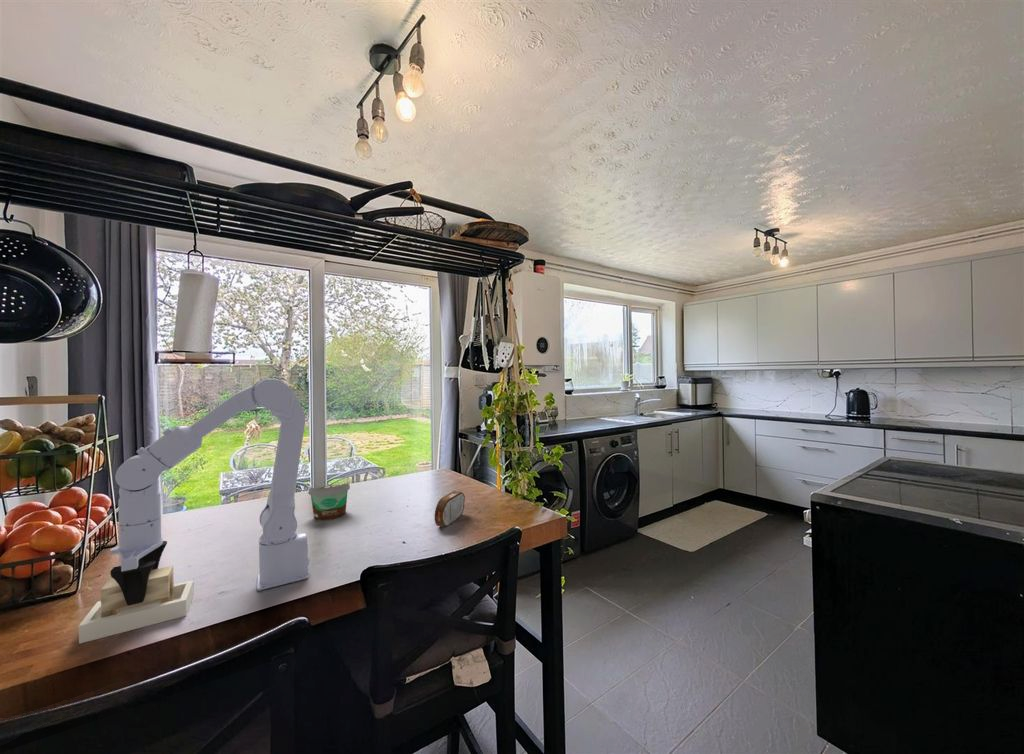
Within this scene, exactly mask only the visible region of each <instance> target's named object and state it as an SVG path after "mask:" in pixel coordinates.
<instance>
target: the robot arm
mask: <svg viewBox="0 0 1024 754" xmlns="http://www.w3.org/2000/svg"><path fill="white" fill-rule="evenodd" d="M256 404H257V405H260V406H261V407H263V408H265V409H266V410H268V411H270V412H271V413H272V414H273V416H274V417H276V418H277V420H278V421H280V426H279V433H278V438H277V445H276V451H275V459H274V465H273V472H272V477H271V478H272V479H271V484H270V491H269V494H268V497H267V500H266V505H265V507H264V508H263V509H262V510H261V513H260V515H259V524H260V526H261V527H262V534H261V536H259V539H258V558H259V559H258V562H259V563H258V565H259V567H258V568H259V571H258V572H259V573H258V574H257V581H256V590H257V591H262V590H267V589H271V588H274V587H275V588H276V587H278V586H282V585H287V584H291V583H294V582H295V583H296V582H298V581H302V580H306V579H308V578H309V565H310V558H309V549H308V548H309V547H308V546H309V545H308V534H307V532H298V531H297V528H298V520H297V518H296V516H295V509H296V502H295V501H296V499H295V493H296V492H295V491H296V486H297V479H298V472H299V465H300V460H301V453H302V445H303V438H304V433H305V425H306V419H307V418H306V417H307V416H306V412H305V410H304V408H303V407H302V405H301V403H300V401H299V400H298V398H297V396H296V394H295V391H294V390H293V388H291V387H290V386H289V385H288V384H286V383H285V382H284V381H283V380H281V379H277V378H263V379H260V380H258V381H257V382H255V384H253V385H250V386H248V387H245V388H244V389H242V390H240V391H238V392H236V393H234V394H232V395H231V396H230V397H228V398H227V399H225V400H224V401H223V402H221V403H220V404H219V405H216V407H215V408H213V409H212V410H211V411H209V412H207V413H206V414H205V415H203V416H202V417H200V418H199V419H198V420H197V421H196V422H193V424H191V425H176V427H174V428H173V429H172V428H170V427H168V428H167V429H165V430H163V432H162V434H163V436H161V437H160V438H158V439H156V440H155V441H153V442H152V443H151V444H149V445H147V446H146V447H140V448H139V449H137V450H136V454H137V455H134V456H131V457H130V458H128V459H127V460H125V461H124V462H122V464H120V466H118V467H117V470H116V472H115V475H114V477H115V482H116V484H117V485H118V486H119V489H118V494H119V498H118V501H117V502H118V503H117V504H118V505H117V506H118V546H115V547H112V548H111V549H110V550H109V554H110V555H118V556H119V558H120V559H121V560H120V563H121V564H120V565H117V566H114V567H112V569H111V570H110V573H109V574H110V576H111V578H113V579H114V580H115V581H116V582H117V583H118V584H119V586H120V588H121V590H122V593H123V595H124V598H125V601H126V603H127V605H128V606H129V605H133V604H137V603H142V602H143V601H144V598H145V595H146V590H147V584H148V579H149V575H150V572H151V570H154V569H159V564H160V560H161V557H162V554H164V553H163V552H164V550H165V548H166V546H167V544H168V541H167V540H164V539H163V538H162V508H161V507H162V505H161V504H162V502H161V501H162V497H161V491H160V486H159V485H160V481H159V477H160V475H161V474H162V472H164V471H165V472H166V471H170V470H172V469H173V468H174V467H175V466H177V465H178V464H179V463H181V462H183V461H184V460H185V459H187V458H188V457H189V456H191V455H192V454H193V453H195V452H196V451H198V450H199V449H201V447H202V445H203V438H204V437H206V436H207V435H208V434H210V433H211V432H212V431H214V430H216V429H218V428H219V427H220V426H221V425H223V424H225V423H226V422H228V421H229V420H230V419H232V418H234V417H235V416H236V415H238V414H239V413H241V412H248V411H253V410H257V409H258V407H257V405H256Z"/></svg>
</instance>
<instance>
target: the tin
mask: <svg viewBox="0 0 1024 754" xmlns="http://www.w3.org/2000/svg"><path fill="white" fill-rule="evenodd" d="M465 498H466V497H465V494H464V493H463V492H462V491H457V490H453V491H451V492H450V493H447V494H446V495H444V496H442V497H441V498H440V499H439V501H438V502H437V504H436V506H435V509H434V510H435V511H434V522H435V525H436V526H437V527H442V528H447V527H449V526H450V525H452V524H453V523H454V522H456V521H457V520H458V519H460V518H461V517H462V515H463V514H464V513H463V512H464V511H465V501H466V499H465Z"/></svg>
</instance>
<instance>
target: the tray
mask: <svg viewBox="0 0 1024 754" xmlns="http://www.w3.org/2000/svg"><path fill="white" fill-rule="evenodd" d="M194 584H195V582H194V579H193V580H187V581H182V582H178V583H174V599H173V601H169V602H165V603H161V604H160V599H156V600H152V601H148V602H144V603H140V604H135V605H131V606H127V607H123V608H119V613H118V614H116V615H111V616H107V617H103V618H101V600H99V601H97V602H96V603H95V604H94V605H93V607H92V608H91V610H89V612H88V613H87V614H86V615H85V617H84V619H83V620H82V621H81V622H80V623H79V625H78V644H83V643H88V642H91V641H94V640H95V641H96V640H99V639H102V638H107V637H109V636H113V635H118V634H121V633H125V632H129V631H133V630H137V629H141V628H145V627H148V626H152V625H156V624H159V623H164V622H168V621H171V620H175V619H179V618H183V617H184V618H185V617H186V616H187V615H188V612H189V609H190V607H191V603H192V601H193V599H194V595H195V590H194V589H195V585H194Z"/></svg>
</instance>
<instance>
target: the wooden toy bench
mask: <svg viewBox="0 0 1024 754" xmlns="http://www.w3.org/2000/svg"><path fill="white" fill-rule="evenodd" d="M174 584H175V583H174V565H169V566H164V567H160V568H159V567H158V569H154V570H151V572H150V575H149V579H148V584H147V590H146V595H145V598H144V601H143V602H142V603H144V602H148V601H152V600H156V599H160V604H161V603H165V602H169V601H173V599H174ZM100 601H101V618H103V617H107V616H111V615H116V614H118V613H119V608H123V607H127V606H128V605H127V603H126V601H125V598H124V595H123V593H122V590H121V588H120V586H119V584H118V583H117V582H116V581H115V580H114V579H113V578H112V577H111V578H109V579H108V580H107V582H106V583H105V584H103V586H102V588H101V589H100ZM137 604H140V603H137ZM133 605H135V604H133ZM129 606H131V605H129Z"/></svg>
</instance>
